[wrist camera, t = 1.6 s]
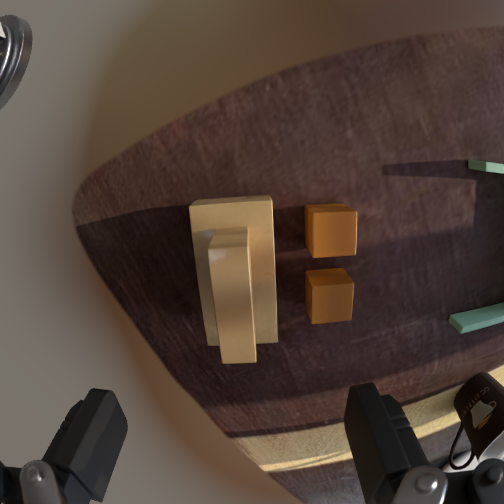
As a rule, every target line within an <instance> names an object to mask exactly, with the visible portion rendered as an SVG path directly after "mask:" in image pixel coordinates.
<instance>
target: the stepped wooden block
mask: <svg viewBox="0 0 504 504" xmlns="http://www.w3.org/2000/svg"><path fill="white" fill-rule="evenodd" d="M189 214H190V223H191V232H192V240H193V248H194V256H195V264H196V271H197V279H198V286H199V293H200V299H201V306H202V313H203V319H204V325H205V331H206V337H207V343H208V346H218V345H219V347H220V353H221V360H222V363H223V364H230V363H253V362H256V344H261V343H276V342H278V335H277V302H276V275H275V250H274V228H273V208H272V200H271V198H270V196H269V195H256V196H241V197H227V198H214V199H202V200H196V201H194V202H193V203H192V204H191V205H190V206H189Z"/></svg>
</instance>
